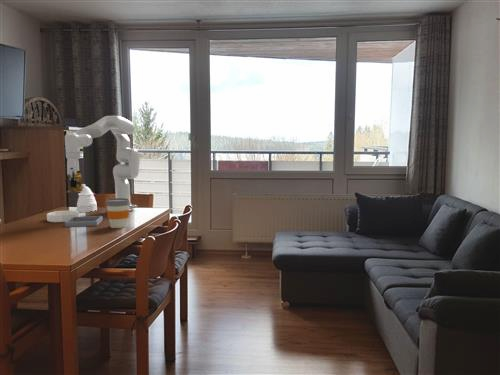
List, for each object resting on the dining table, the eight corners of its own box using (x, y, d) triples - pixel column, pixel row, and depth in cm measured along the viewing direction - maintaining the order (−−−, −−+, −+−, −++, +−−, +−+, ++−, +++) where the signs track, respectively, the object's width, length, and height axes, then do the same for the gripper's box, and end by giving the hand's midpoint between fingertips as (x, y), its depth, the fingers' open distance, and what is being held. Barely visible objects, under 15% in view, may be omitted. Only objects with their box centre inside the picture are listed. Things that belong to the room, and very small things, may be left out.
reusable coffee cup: (106, 229, 224) (104, 201, 222) (107, 224, 236) (106, 198, 234) (130, 227, 227) (129, 200, 225) (130, 223, 239) (129, 197, 237)
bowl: (81, 216, 264) (81, 210, 263) (74, 221, 247) (74, 214, 247) (52, 217, 261) (52, 211, 261) (43, 222, 244) (43, 215, 244)
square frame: (102, 220, 251) (102, 216, 250) (97, 225, 234) (96, 221, 234) (73, 221, 248) (72, 217, 248) (65, 226, 231) (64, 222, 231)
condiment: (81, 192, 241) (80, 171, 240) (66, 192, 240) (64, 171, 238) (84, 190, 248) (83, 170, 247) (69, 190, 247) (68, 170, 246)
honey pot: (72, 211, 282) (71, 185, 280) (85, 208, 295) (84, 183, 293) (88, 212, 279) (87, 185, 277) (101, 209, 291) (99, 183, 289)
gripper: (69, 155, 249) (71, 185, 251) (62, 156, 232) (64, 188, 235) (82, 155, 251) (84, 184, 253) (76, 156, 234) (78, 188, 236)
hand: (74, 186), depth 244 cm, fingers closed on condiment, 6 cm apart
